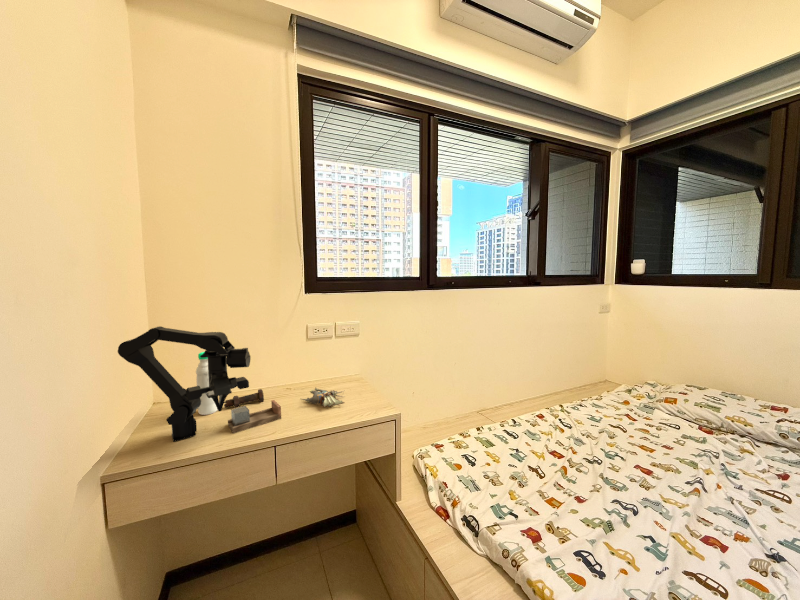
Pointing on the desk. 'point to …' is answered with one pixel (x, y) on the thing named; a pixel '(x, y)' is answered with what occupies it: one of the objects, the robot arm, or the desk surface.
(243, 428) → the track
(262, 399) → the bolt
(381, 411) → the desk surface
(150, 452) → the desk surface
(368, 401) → the desk surface
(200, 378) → the water bottle
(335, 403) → the figurine
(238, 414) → the block
